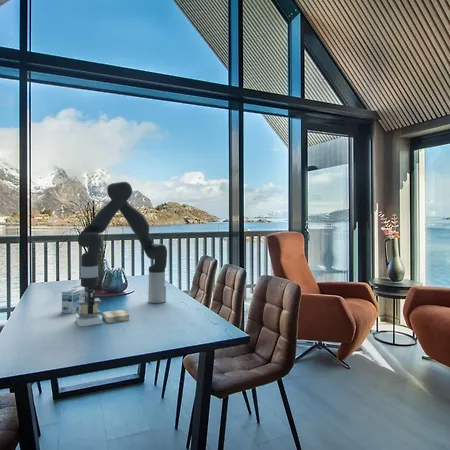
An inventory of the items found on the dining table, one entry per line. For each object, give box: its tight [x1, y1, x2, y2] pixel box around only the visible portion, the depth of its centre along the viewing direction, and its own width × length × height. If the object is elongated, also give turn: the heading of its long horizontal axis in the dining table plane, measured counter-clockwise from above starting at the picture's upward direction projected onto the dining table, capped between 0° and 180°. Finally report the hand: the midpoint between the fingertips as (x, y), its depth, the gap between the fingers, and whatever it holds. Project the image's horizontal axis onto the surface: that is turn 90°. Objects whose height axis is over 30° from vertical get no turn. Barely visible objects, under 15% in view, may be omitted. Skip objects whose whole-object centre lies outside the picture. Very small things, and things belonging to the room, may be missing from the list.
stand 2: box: [102, 309, 130, 324], centre depth 169 cm, size 10×10×2 cm
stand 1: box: [75, 314, 103, 327], centre depth 163 cm, size 10×10×2 cm
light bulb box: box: [61, 287, 85, 314], centre depth 182 cm, size 11×7×11 cm, turn 168°
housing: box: [77, 297, 102, 317], centre depth 163 cm, size 9×6×6 cm, turn 119°
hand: (89, 311), depth 163 cm, fingers closed on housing, 5 cm apart
